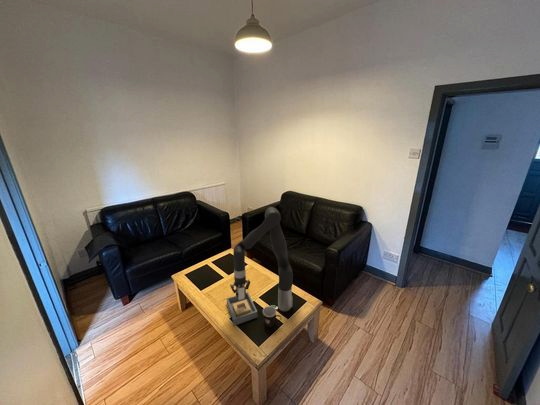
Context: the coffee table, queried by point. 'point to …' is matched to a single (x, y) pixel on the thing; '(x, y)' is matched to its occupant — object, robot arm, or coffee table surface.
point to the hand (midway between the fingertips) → (240, 295)
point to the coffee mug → (270, 316)
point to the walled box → (241, 309)
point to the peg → (241, 293)
